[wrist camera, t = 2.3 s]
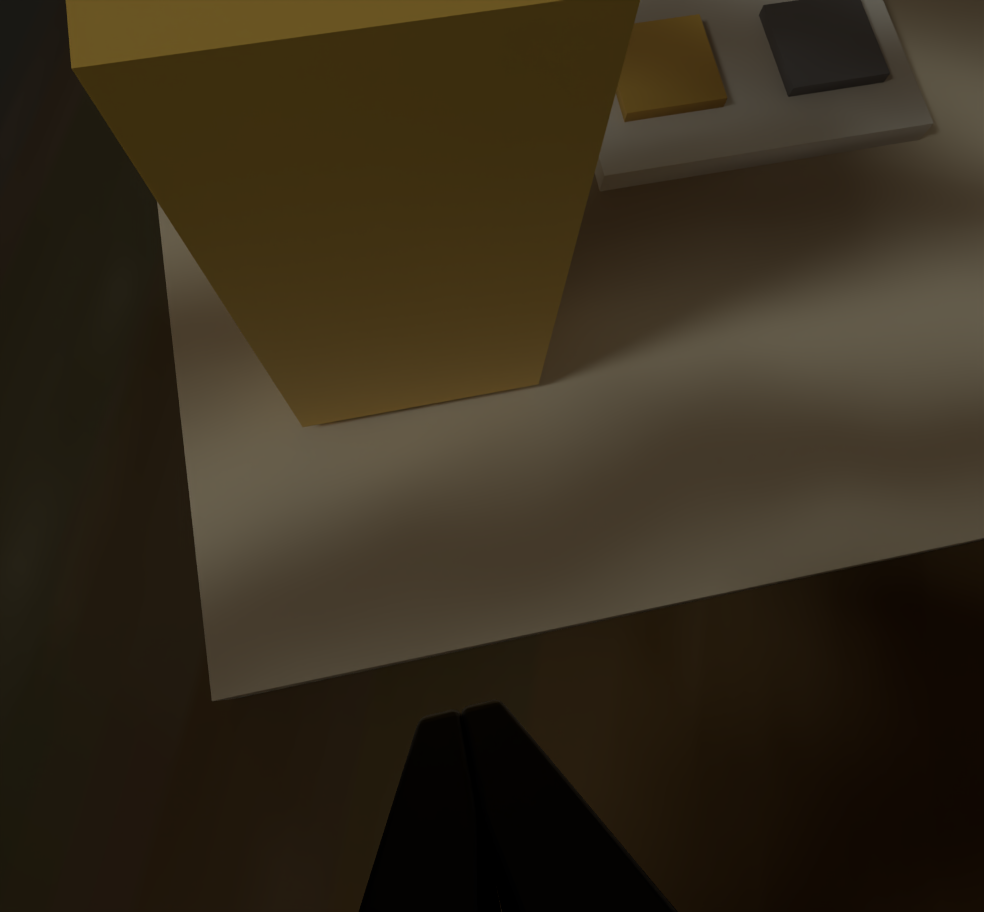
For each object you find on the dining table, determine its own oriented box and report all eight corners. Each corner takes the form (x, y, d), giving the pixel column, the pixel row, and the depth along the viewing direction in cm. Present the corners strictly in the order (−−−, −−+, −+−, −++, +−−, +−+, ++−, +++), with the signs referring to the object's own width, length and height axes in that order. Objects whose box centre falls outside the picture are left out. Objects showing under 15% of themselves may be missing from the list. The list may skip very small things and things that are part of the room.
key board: (1405, 450, 19) (1683, 384, 15) (234, 699, 16) (153, 707, 12) (1132, -66, 23) (1288, -237, 19) (160, 70, 21) (80, -91, 16)
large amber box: (538, 384, 17) (643, -11, 7) (302, 427, 16) (71, 68, 7) (500, 219, 18) (545, -321, 8) (276, 256, 17) (43, -272, 8)
